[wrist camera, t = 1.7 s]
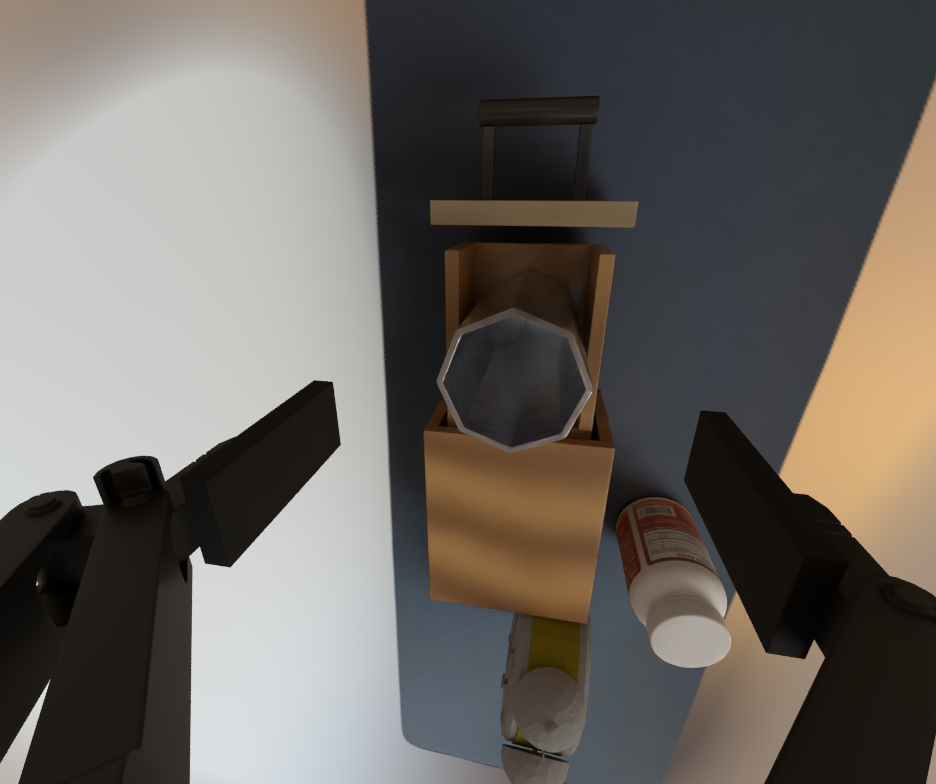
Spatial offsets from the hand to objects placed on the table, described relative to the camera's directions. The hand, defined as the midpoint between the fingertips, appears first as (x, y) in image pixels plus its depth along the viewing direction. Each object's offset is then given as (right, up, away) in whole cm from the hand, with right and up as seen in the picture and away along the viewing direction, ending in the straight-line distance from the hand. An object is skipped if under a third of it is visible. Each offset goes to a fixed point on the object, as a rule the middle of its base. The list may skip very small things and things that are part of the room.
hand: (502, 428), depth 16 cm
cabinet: (+3, -5, +21) cm, 22 cm away
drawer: (+3, +10, +14) cm, 17 cm away
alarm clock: (+6, -17, +26) cm, 32 cm away
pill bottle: (+15, -10, +21) cm, 27 cm away
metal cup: (+3, +6, +14) cm, 16 cm away
